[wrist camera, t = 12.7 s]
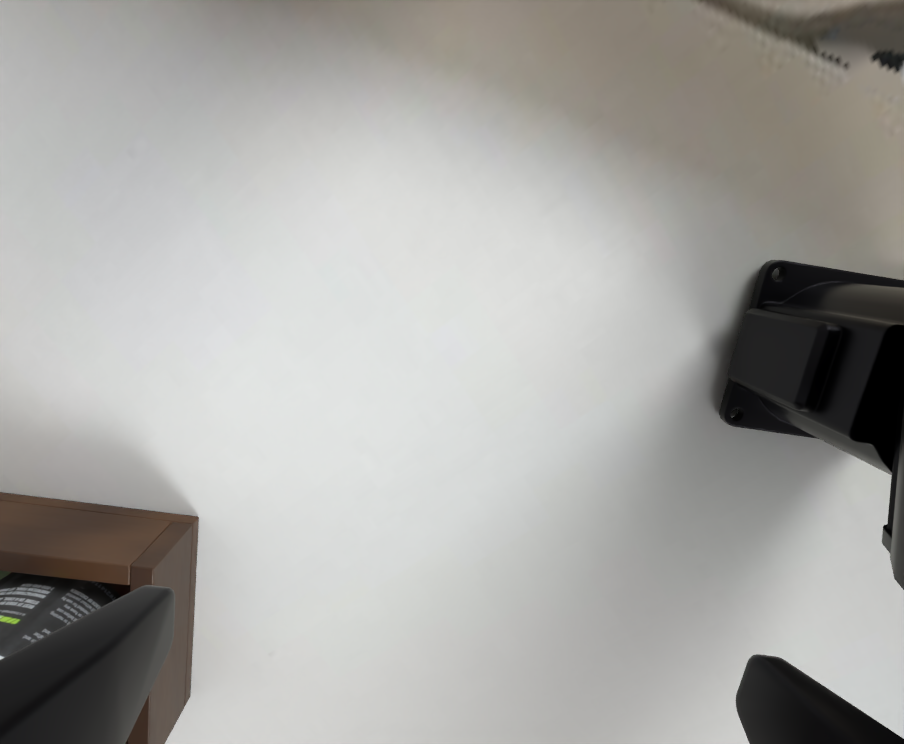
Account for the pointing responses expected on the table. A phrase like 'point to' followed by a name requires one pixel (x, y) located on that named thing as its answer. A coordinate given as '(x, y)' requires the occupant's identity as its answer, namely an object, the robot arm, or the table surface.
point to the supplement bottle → (46, 606)
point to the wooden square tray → (114, 574)
